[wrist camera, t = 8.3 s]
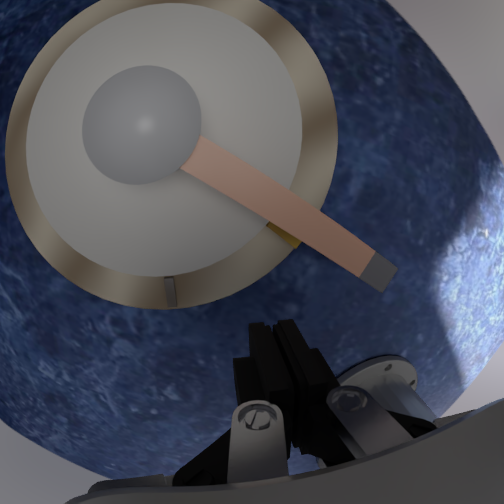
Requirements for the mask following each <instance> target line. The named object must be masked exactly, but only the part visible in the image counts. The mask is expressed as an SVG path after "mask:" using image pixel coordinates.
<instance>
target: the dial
mask: <svg viewBox="0 0 504 504" xmlns="http://www.w3.org/2000/svg"><path fill="white" fill-rule="evenodd" d="M301 143H302V117H301V110H300V104H299V99H298V96H297V93H296V89H295V86H294V83H293V81H292V79H291V77H290V75H289V73H288V70H287V68H286V67H285V65H284V63H283V62H282V60H281V59H280V57H279V56H278V54H277V53H276V52H275V51H274V49H273V48H272V47H271V46H270V45H269V44H268V43H267V42H266V40H265V39H264V38H262V37H261V36H260V35H259V34H258V33H256V32H255V31H254V30H253V29H252V28H250V27H249V26H247V25H246V24H244V23H242V22H241V21H239V20H238V19H236V18H234V17H232V16H230V15H227V14H225V13H223V12H220V11H218V10H214V9H211V8H207V7H204V6H199V5H192V4H185V3H162V4H153V5H146V6H142V7H138V8H134V9H130V10H127V11H125V12H122V13H120V14H117V15H114V16H112V17H110V18H108V19H106V20H105V21H103V22H101V23H99V24H97V25H96V26H94V27H93V28H91V29H90V30H88V31H87V32H86V33H84V34H83V35H81V36H80V37H79V38H78V39H77V40H76V41H75V42H74V43H72V44H71V45H70V46H69V47H68V48H67V49H66V50H65V52H64V53H63V54H62V55H61V56H60V57H59V59H58V60H57V61H56V62H55V64H54V65H53V67H52V68H51V69H50V71H49V72H48V74H47V76H46V77H45V79H44V81H43V83H42V85H41V87H40V89H39V91H38V93H37V96H36V98H35V101H34V104H33V107H32V110H31V114H30V118H29V123H28V128H27V138H26V160H27V168H28V174H29V179H30V183H31V186H32V189H33V192H34V195H35V198H36V200H37V202H38V204H39V206H40V209H41V211H42V212H43V214H44V216H45V217H46V219H47V220H48V222H49V223H50V225H51V226H52V227H53V229H54V230H55V231H56V232H57V233H58V235H59V236H60V237H61V238H62V239H63V240H64V241H65V242H66V243H67V244H69V245H70V246H71V247H72V248H73V249H74V250H76V251H77V252H79V253H80V254H82V255H83V256H85V257H86V258H88V259H89V260H91V261H93V262H95V263H97V264H99V265H101V266H103V267H106V268H109V269H112V270H115V271H118V272H121V273H126V274H132V275H137V276H151V277H159V276H173V275H178V274H183V273H188V272H192V271H195V270H198V269H201V268H204V267H207V266H210V265H212V264H214V263H216V262H218V261H220V260H222V259H224V258H226V257H228V256H229V255H231V254H232V253H234V252H236V251H237V250H239V249H240V248H242V247H243V246H244V245H245V244H246V243H248V242H249V241H250V240H251V239H252V238H254V237H255V236H256V235H257V234H258V233H259V232H260V231H261V230H262V229H263V227H264V226H265V225H266V224H267V223H268V222H269V221H270V222H272V223H273V224H275V225H276V226H278V227H280V228H281V229H283V230H285V231H286V232H288V233H289V234H291V235H293V236H294V237H296V238H298V239H299V240H301V241H302V242H304V243H306V244H307V245H309V246H310V247H312V248H313V249H315V250H317V251H318V252H320V253H321V254H323V255H325V256H326V257H328V258H329V259H331V260H332V261H334V262H335V263H337V264H339V265H340V266H342V267H343V268H345V269H346V270H348V271H349V272H351V273H353V274H354V275H356V276H357V277H358V278H360V279H361V280H363V281H364V282H366V283H367V284H369V285H371V286H372V287H374V288H375V289H377V290H378V291H380V292H381V293H383V291H384V290H385V288H386V287H387V285H388V284H389V282H390V281H391V279H392V278H393V276H394V274H395V273H396V271H397V270H398V268H397V267H396V266H394V265H393V264H392V263H391V262H389V261H388V260H387V259H385V258H384V257H383V256H381V255H380V254H379V253H377V252H376V251H374V250H373V249H372V248H370V247H369V246H368V245H366V244H365V243H364V242H362V241H361V240H360V239H358V238H357V237H356V236H354V235H353V234H351V233H350V232H349V231H347V230H346V229H345V228H343V227H342V226H340V225H339V224H338V223H336V222H335V221H333V220H332V219H331V218H329V217H328V216H326V215H325V214H323V213H322V212H321V211H319V210H318V209H316V208H315V207H313V206H312V205H310V204H309V203H307V202H306V201H304V200H303V199H302V198H300V197H299V196H297V195H296V194H294V193H293V192H291V191H290V190H289V188H290V186H291V183H292V181H293V178H294V176H295V173H296V169H297V165H298V161H299V157H300V152H301Z"/></svg>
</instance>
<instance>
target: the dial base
mask: <svg viewBox="0 0 504 504" xmlns="http://www.w3.org/2000/svg"><path fill="white" fill-rule="evenodd" d="M162 3H185V4H192V5H199V6H204V7H207V8H211V9H214V10H218V11H220V12H223V13H225V14H227V15H230V16H232V17H234V18H236V19H238V20H239V21H241V22H242V23H244V24H246V25H247V26H249V27H250V28H252V29H253V30H254V31H255V32H256V33H258V34H259V35H260V36H261V37H262V38H264V39H265V40H266V42H267V43H268V44H269V45H270V46H271V47H272V48H273V49H274V51H275V52H276V53H277V54H278V56H279V57H280V59H281V60H282V62H283V63H284V65H285V67H286V68H287V70H288V73H289V75H290V77H291V79H292V81H293V83H294V86H295V89H296V93H297V96H298V99H299V104H300V110H301V117H302V143H301V152H300V157H299V161H298V165H297V169H296V173H295V176H294V178H293V181H292V183H291V186H290V188H289V190H290V191H291V192H293V193H294V194H296V195H297V196H299V197H300V198H302V199H303V200H304V201H306V202H307V203H309V204H310V205H312V206H313V207H315V208H316V209H318V210H319V211H320V209H321V207H322V205H323V203H324V200H325V197H326V195H327V192H328V189H329V187H330V184H331V180H332V176H333V172H334V167H335V163H336V154H337V143H338V130H337V115H336V110H335V104H334V99H333V95H332V92H331V88H330V85H329V82H328V79H327V77H326V74H325V72H324V70H323V68H322V66H321V64H320V62H319V60H318V58H317V56H316V55H315V53H314V52H313V50H312V49H311V47H310V46H309V45H308V43H307V42H306V40H305V39H304V38H303V37H302V36H301V34H300V33H299V32H298V31H297V30H296V29H295V28H294V27H293V26H292V25H291V24H290V23H289V22H288V21H287V20H286V19H284V18H283V17H282V16H281V15H280V14H278V13H277V12H276V11H275V10H273V9H272V8H270V7H269V6H267V5H265V4H264V3H262V2H260V1H259V0H101V1H99V2H97V3H95V4H93V5H92V6H90V7H88V8H86V9H85V10H84V11H82V12H81V13H79V14H78V15H77V16H75V17H74V18H73V19H71V20H70V21H69V22H67V23H66V24H65V25H64V26H63V27H62V28H61V29H60V30H59V31H58V32H57V33H56V34H55V35H54V36H53V37H52V38H51V39H50V40H49V41H48V43H47V44H46V45H45V46H44V47H43V49H42V50H41V51H40V52H39V54H38V55H37V57H36V58H35V60H34V61H33V63H32V64H31V66H30V67H29V69H28V71H27V72H26V74H25V76H24V78H23V81H22V83H21V85H20V87H19V89H18V91H17V94H16V97H15V100H14V103H13V106H12V109H11V113H10V117H9V122H8V128H7V133H6V148H5V161H6V174H7V181H8V186H9V190H10V195H11V198H12V201H13V204H14V207H15V210H16V213H17V216H18V218H19V220H20V222H21V224H22V226H23V228H24V230H25V232H26V234H27V235H28V237H29V238H30V240H31V241H32V243H33V244H34V245H35V247H36V248H37V250H38V251H39V252H40V253H41V255H42V256H43V257H44V258H45V259H46V260H47V261H48V262H49V263H50V264H51V265H52V267H54V268H55V269H56V270H57V271H58V272H60V273H61V274H62V275H63V276H64V277H66V278H67V279H68V280H70V281H71V282H73V283H74V284H76V285H77V286H79V287H81V288H82V289H84V290H85V291H88V292H90V293H92V294H94V295H96V296H98V297H101V298H103V299H105V300H109V301H112V302H115V303H118V304H122V305H126V306H132V307H138V308H144V309H177V308H188V307H192V306H197V305H201V304H206V303H210V302H213V301H216V300H218V299H221V298H224V297H227V296H230V295H232V294H234V293H236V292H238V291H240V290H242V289H244V288H245V287H247V286H249V285H251V284H252V283H254V282H255V281H257V280H258V279H260V278H261V277H263V276H264V275H266V274H267V273H269V272H270V271H271V270H272V269H273V268H274V267H276V266H277V265H278V264H279V263H280V262H281V261H283V260H284V259H285V258H286V257H287V256H288V255H289V253H290V252H291V251H292V250H293V249H294V248H295V249H296V248H297V247H298V246H299V244H300V243H301V242H302V241H301V240H299V239H298V238H296V237H294V236H293V235H291V234H289V233H288V232H286V231H285V230H283V229H281V228H280V227H278V226H276V225H275V224H273V223H272V222H270V221H269V222H268V223H267V224H266V225H265V226H264V227H263V229H262V230H261V231H260V232H259V233H258V234H257V235H256V236H255V237H254V238H252V239H251V240H250V241H249V242H248V243H246V244H245V245H244V246H243V247H242V248H240V249H239V250H237V251H236V252H234V253H232V254H231V255H229V256H228V257H226V258H224V259H222V260H220V261H218V262H216V263H214V264H212V265H210V266H207V267H204V268H201V269H198V270H195V271H192V272H188V273H183V274H178V275H173V276H159V277H151V276H137V275H132V274H126V273H121V272H118V271H115V270H112V269H109V268H106V267H103V266H101V265H99V264H97V263H95V262H93V261H91V260H89V259H88V258H86V257H85V256H83V255H82V254H80V253H79V252H77V251H76V250H74V249H73V248H72V247H71V246H70V245H69V244H67V243H66V242H65V241H64V240H63V239H62V238H61V237H60V236H59V235H58V233H57V232H56V231H55V230H54V229H53V227H52V226H51V225H50V223H49V222H48V220H47V219H46V217H45V216H44V214H43V212H42V211H41V209H40V206H39V204H38V202H37V200H36V198H35V195H34V192H33V189H32V186H31V183H30V179H29V174H28V168H27V160H26V138H27V128H28V123H29V118H30V114H31V110H32V107H33V104H34V101H35V98H36V96H37V93H38V91H39V89H40V87H41V85H42V83H43V81H44V79H45V77H46V76H47V74H48V72H49V71H50V69H51V68H52V67H53V65H54V64H55V62H56V61H57V60H58V59H59V57H60V56H61V55H62V54H63V53H64V52H65V50H66V49H67V48H68V47H69V46H70V45H71V44H72V43H74V42H75V41H76V40H77V39H78V38H79V37H80V36H81V35H83V34H84V33H86V32H87V31H88V30H90V29H91V28H93V27H94V26H96V25H97V24H99V23H101V22H103V21H105V20H106V19H108V18H110V17H112V16H114V15H117V14H120V13H122V12H125V11H127V10H130V9H134V8H138V7H142V6H146V5H153V4H162Z"/></svg>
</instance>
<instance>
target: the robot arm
mask: <svg viewBox="0 0 504 504" xmlns="http://www.w3.org/2000/svg"><path fill="white" fill-rule="evenodd" d="M249 348H250V357H242V358H233V369H234V380H235V389H236V396H237V402H238V407H237V408H236V410H235V411H234V413H233V416H232V425H231V428H230V429H229V430H228V431H227V432H226V433H224V434H223V435H222V436H221V437H220V438H218V439H217V440H216V441H215V442H214V443H212V444H211V445H210V446H209V447H207V448H206V449H205V450H204V451H202V452H201V453H200V454H199V455H197V456H196V457H195V458H193V459H192V460H191V461H190V462H188V463H187V464H186V465H184V466H183V467H182V468H180V469H179V470H178V471H177V472H176V473H175V475H171V476H165V477H164V475H163V474H158V475H152V476H144V477H137V478H128V479H117V480H105V481H100V482H97V483H96V484H94V485H92V486H91V488H90V489H89V490H88V494H85V495H81V496H78V497H75V498H73V499H71V500H69V501H67V502H66V503H65V504H504V398H502V399H499V400H496V401H494V402H491V403H489V404H487V405H484V406H482V407H480V408H478V409H476V410H471V411H467V412H463V413H459V414H455V415H452V416H447V417H443V418H437V416H436V415H435V414H434V413H433V412H432V411H431V409H430V408H429V407H428V406H427V405H426V404H425V402H424V401H423V400H422V399H421V398H420V397H419V395H418V394H417V393H416V392H415V390H416V387H417V381H418V378H417V372H416V370H415V368H414V367H413V366H412V364H411V363H410V362H409V361H407V360H406V359H405V358H402V357H399V356H383V357H378V358H374V359H371V360H368V361H366V362H364V363H362V364H359V365H357V366H355V367H354V368H352V369H350V370H349V371H347V372H345V373H344V374H343V375H341V376H340V377H339V378H337V379H336V377H335V375H334V374H333V372H332V370H331V369H330V367H329V366H328V364H327V362H326V361H325V359H324V357H323V356H322V354H321V353H320V351H319V350H318V349H317V348H314V349H309V347H308V345H307V343H306V342H305V340H304V338H303V336H302V335H301V333H300V331H299V329H298V328H297V326H296V324H295V322H294V321H293V319H288V320H279V321H278V323H277V324H276V325H273V333H272V331H271V328H270V326H269V325H267V326H265V325H264V323H263V322H260V323H250V324H249ZM291 441H292V444H293V447H294V448H298V447H299V449H300V452H301V455H304V454H310V455H313V456H315V457H316V461H317V464H318V466H319V467H320V469H319V470H315V471H310V472H305V473H301V474H296V475H291V476H289V474H288V464H287V460H288V459H289V458H290V448H291Z"/></svg>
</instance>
